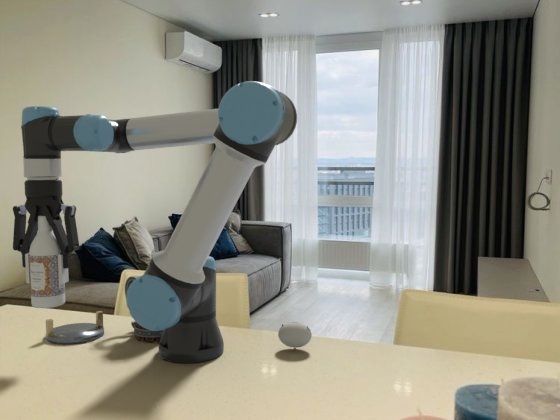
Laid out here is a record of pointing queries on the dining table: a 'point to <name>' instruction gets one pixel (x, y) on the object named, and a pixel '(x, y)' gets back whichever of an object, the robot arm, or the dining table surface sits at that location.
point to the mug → (140, 331)
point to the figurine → (294, 334)
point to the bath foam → (45, 268)
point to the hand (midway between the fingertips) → (47, 282)
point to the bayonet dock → (75, 332)
